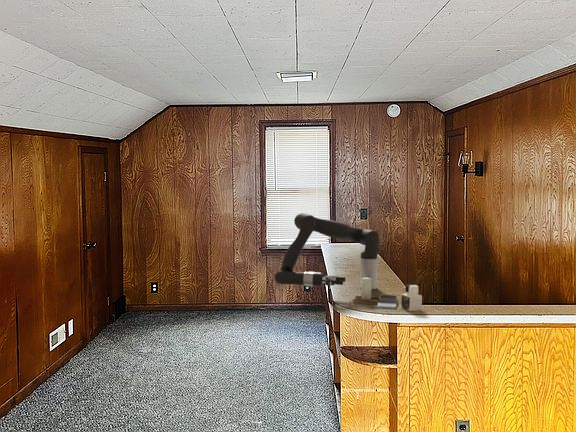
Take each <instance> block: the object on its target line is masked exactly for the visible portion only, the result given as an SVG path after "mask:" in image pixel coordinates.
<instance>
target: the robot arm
mask: <svg viewBox="0 0 576 432" xmlns="http://www.w3.org/2000/svg"><path fill="white" fill-rule="evenodd" d="M293 220H294V225H295V226H296V228H297V229H299V232H298V234H297V236H296V238H295V239H294V240H293V242H292V243H291V244H290V246H288V248H287V250H286V251H285V254H284V257H283V258H282V261H281V268H280V270H278V271H276V272H275V274H274V281H275V282H276V283H278V284H280V285H295V286H304V287H305V286H306V287H315V288H317V287H318V288H321V287H323V286H324V285H325V286H335V285H337V286H338V285H339V286H341V285H344V283H345V282H346V277H345V276H344V277H343V276H342V277H341V276H338V275H325V276H324V273H323V272H322V271H321V272H319V271H294V268H295V267H296V264H297V262H298V259H299V257H300V254H301V252H302V250H303V249H304V247H305V245H306V243H307V242H308V240H309V239H310V237H311V235H312V233H313V232H316V233H319V234H322V235H323V236H326V237H329V238H333V239H337V240H344V241H352V242H355V243H358V244H360V245H362V246H364V250H363V252H361V253H360V281H359V282H360V283H359V286H360V289H361V283H362V278H371V291H372V290H376V289H378V288H377V287H378V286H377V285H378V255H379V250H380V236H379V235H380V234H379V232H378V231H376V230H373V229H369V228H357V227H353V226H351V225H349V224H347V223H344V222H341V221H337V220H331V219H326V218H318V217H315V216H314V215H311V214H309V213H306V212H302V213H299V214H297V215H296V216H295V217H294V219H293Z"/></svg>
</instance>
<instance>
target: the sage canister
mask: <svg viewBox="0 0 576 432" xmlns="http://www.w3.org/2000/svg"><path fill="white" fill-rule="evenodd" d="M360 289H361V291H360V293H361V295H360V296H361V299H363V300H371V296H372V290H371V278H362V283H361V288H360Z"/></svg>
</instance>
